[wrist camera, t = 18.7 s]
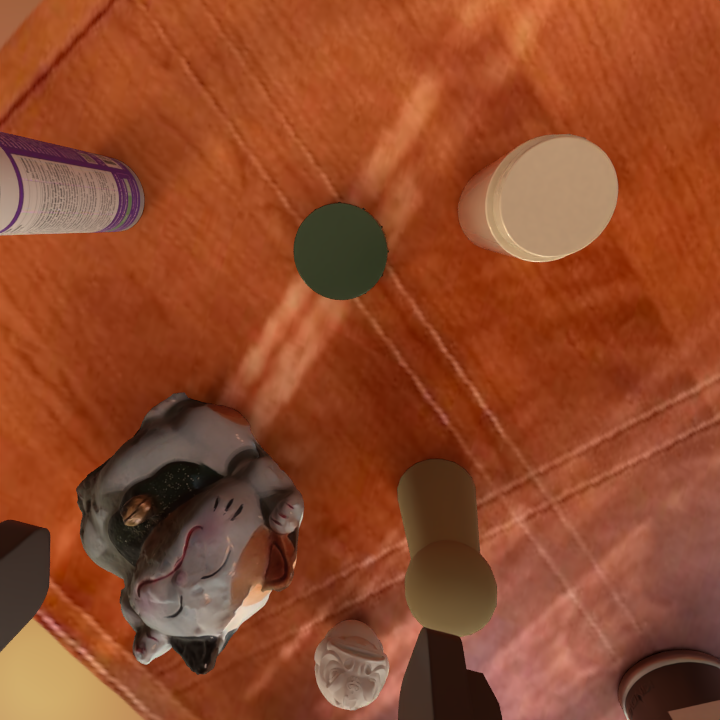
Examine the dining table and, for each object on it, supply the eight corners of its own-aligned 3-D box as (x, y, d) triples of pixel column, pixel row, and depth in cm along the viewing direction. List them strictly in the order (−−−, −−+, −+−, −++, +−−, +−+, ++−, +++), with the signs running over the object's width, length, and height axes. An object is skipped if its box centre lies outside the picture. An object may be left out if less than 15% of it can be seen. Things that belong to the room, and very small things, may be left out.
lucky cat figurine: (208, 358, 32) (239, 482, 20) (303, 446, 39) (366, 576, 27) (44, 490, 31) (-20, 695, 20) (170, 556, 38) (177, 735, 27)
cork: (434, 443, 33) (452, 547, 22) (492, 492, 33) (536, 615, 23) (381, 494, 34) (374, 612, 24) (437, 539, 35) (454, 673, 25)
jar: (555, 174, 27) (649, 144, 17) (525, 259, 28) (595, 278, 18) (472, 154, 27) (517, 112, 17) (447, 240, 28) (475, 248, 18)
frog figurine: (399, 606, 37) (400, 688, 31) (376, 663, 39) (372, 751, 33) (331, 586, 37) (317, 664, 31) (312, 644, 39) (295, 729, 33)
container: (62, 187, 29) (-259, 151, 15) (110, 140, 28) (-188, 54, 14) (111, 245, 30) (-147, 265, 16) (159, 203, 29) (-73, 183, 15)
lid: (291, 284, 30) (285, 287, 28) (308, 194, 28) (303, 192, 26) (375, 305, 30) (374, 309, 28) (397, 216, 28) (397, 216, 26)
